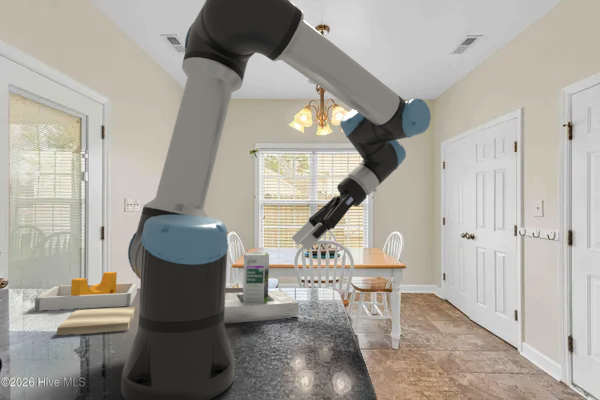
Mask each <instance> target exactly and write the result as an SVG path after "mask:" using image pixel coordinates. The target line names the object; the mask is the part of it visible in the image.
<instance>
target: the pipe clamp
mask: <svg viewBox="0 0 600 400" xmlns="http://www.w3.org/2000/svg"><path fill="white" fill-rule="evenodd" d="M102 273H103V274H102V278H101V280H100V282H99V283H95V284H96V285H92V287H90V288H89V286H88V284H89V283H88V278H83V277H82V278H80V277H77V278H73V279H71V284H70V285H71V296H73V295H95V294H116V283H117V277H118V276H117V275H118V273H117V272H116V271H105V272H102Z"/></svg>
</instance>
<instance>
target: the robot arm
mask: <svg viewBox="0 0 600 400" xmlns="http://www.w3.org/2000/svg"><path fill="white" fill-rule="evenodd" d="M256 53H257V54H259V55H262V56H264V57H266V58H268V59H270V60H271V61H272V62H277V61H282V62H284V63H285V64H287V65H288V66H290V67H291V68H293V69H294V70H296V71H297V72H298V73H300V74H302V75H303V76H304V77H306V78H307V79H308V80H309V81H311V82H312V83H314V84H315V85H317V86H319V87H320V88H322V89H323V90H325V91H326V93H329V94H330V95H332V96H333V97H334V98H336V99H338V100H340V102H342V103H343V104H344V105H346V106H348V107H349V108H351V110H350V111H349V112H347V113H346V114H345V115H344V116H343V117H342V118H341V120H340V122H339V125H340V128H341V130H342V131H343V132H344V134H345V137H346V138H347V139H348V140H349V142H350V143H351V144H352V145H353V147H354V148H355V150H356V152H357V153H358V154H359V155H360V157H361V158H362V161H361V162H360V163H359V164H358V165H357V166H356V167H354V168H353V170H352V171H351V172H349V173H348V175H347V177H345V178H343V180H342V181H340V182H339V184H337V186H336V187H337V188H336V189H337V192H339V195H337V196H333V197H332V198H331V200H329V201H328V202H327V203H325V205H323V206H322V207H321V208H320V209H318V211H316V212H315V213H313V215H312V216H310V217H309V218H308V221H307V222H306V223H305V224H304V225H302V227H301V228H299V229H298V230H297V231H296V232H295V233H294V234H293V235H292V236H291V238H290V239H292V240H293V241H294V243H295V244H297V245H298V246H299V245H301V246H303V248H304V249H305V251H307V252H308V251H309V250H310V249H311V248H312V247H313V246H314V245H315V244H316V243H317V242H318V241H320V239H321V238H322V237H323V236H324V235H326V233H327V232H328V231H330V230H334V229H335V227H336V226H337V225H338V223H340V222H341V220H342V218H344V216H345V215H346V214H347V212H348V211H349V210H350V208H352V206H354V207H358V206H360V205H361V204H362V203H363V201H365V200H366V199H367V196H369V195H371V194H372V193H373V192H374V193H376V192H377V190H378V189H377V188H378V187H379V186H380V185H381V184H382V183H383V182H384V181H386V179H387V178H388V177H390V175H391V174H392V173H393V172H394V171H395V170H397V169H398V167H400V165H401V164H403V162H404V161H405V159H406V156H407V151H406V150H405V147H404V146H403V144H400V143H399V141H398V140H402V139H407V138H412V137H413V136H417V135H420V134H423V133H425V132H426V131H427V130H428V129H429V127H430V123H431V121H432V120H431V119H432V118H431V117H432V116H431V114H432V113H431V109H430V108H429V107H430V106H429V105H428V104H427V103H426V101H425V100H424V99H422V98H410V99H408V100H407V99H406V100H404V99H403V98H402V96H400V95H399V94H397V93H396V92H395V91H393V90H392V89H391V88H390V87H388V85H386V84H384V83H383V81H381V80H380V79H378V78H377V77H376V76H375V75H373V73H371V72H369V71H368V70H367V69H366V68H364V66H362V65H361V64H359V63H358V62H357V61H356V60H354V58H352V57H351V56H349V55H348V54H347V53H345V51H343V50H342V49H340V47H338V46H337V45H336V44H334V42H331V41H330V40H329V39H328V38H327V37H326V36H324V35H323V34H322V33H320V32H319V31H318V30H316V29H315V27H313V26H311V24H309V23H308V22H307V21H305V17H304V11H303V10H302V9H301V8H299V7H298V6H297V5H296V4H295V3H293V2H291V1H290V0H205V2H204V4H203V5H202V7H201V9H200V11H199V12H198V14H197V16H196V18H195V19H194V21H193V22H192V24H191V25H190V26H189V28H188V30H187V33H186V36H185V39H184V56H183V59H182V64H181V69H182V71H183V72H184V74H185V75H186V77H187V78H186V83H185V86H184V90H183V93H182V97H181V101H180V105H179V107H178V108H179V109H178V112H177V115H176V120H175V123H174V126H173V127H174V128H173V131H172V134H171V139H170V142H169V147H168V150H167V153H166V157H165V161H164V164H163V167H162V172H161V175H160V179H159V183H158V186H157V190H156V194H155V197H154V198H153V199H152V200H151V201H147V203H145V204H144V205H143V206H142V211H141V215H140V219H139V221H138V225H137V229H136V232H135V233H134V234H132V238H131V239H130V241H129V243H128V250H127V257H128V258H127V259H128V263H129V265H130V267H131V270H132V272H133V273H134V274H135V275H136V278H138V279H139V280H140V284H139V285H140V289H139V308H138V309H139V310H138V328H137V331H136V335H135V337H134V340H133V343H132V344H131V348H130V350H129V353H128V356H127V357H126V361H125V363H124V367H123V369H122V373H121V381H120V382H121V383H120V384H121V385H120V393H121V394H120V395H121V396H122V398H123V399H124V400H212V399H215V398H216V397H218V396H219V395H221V394H222V393H224V392H225V391H226V390H228V389H229V388H230V386H231V385H232V383H233V382H234V379H235V366H236V365H235V364H236V363H235V356H234V353H233V349H232V347H231V346H232V345H231V343H230V342H231V341H230V339H229V335H228V333H227V329H226V325H225V324H224V310H225V293H226V289H227V288H226V285H227V267H228V266H227V263H228V250H229V241H228V229H227V226H226V224H225V223H224V222H223V221H222V220H219V219H216V218H212V217H209V216H208V214H207V213H206V211H205V208H204V207H205V204H206V199H207V195H208V192H209V189H210V184H211V179H212V176H213V171H214V167H215V162H216V160H217V159H216V158H217V154H218V150H219V146H220V143H221V138H222V136H223V135H222V134H223V131H224V125H225V122H226V118H227V114H228V110H229V105H230V102H231V99H232V93H234V92H236V91H238V90H240V89H241V87H242V85H243V81H244V78H245V73H246V69H247V65H248V62H249V60H250V58H252V56H253V55H254V54H256Z"/></svg>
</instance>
